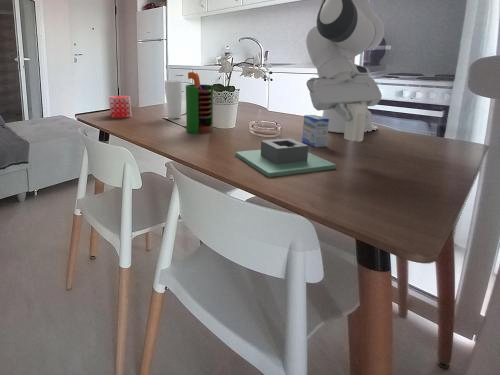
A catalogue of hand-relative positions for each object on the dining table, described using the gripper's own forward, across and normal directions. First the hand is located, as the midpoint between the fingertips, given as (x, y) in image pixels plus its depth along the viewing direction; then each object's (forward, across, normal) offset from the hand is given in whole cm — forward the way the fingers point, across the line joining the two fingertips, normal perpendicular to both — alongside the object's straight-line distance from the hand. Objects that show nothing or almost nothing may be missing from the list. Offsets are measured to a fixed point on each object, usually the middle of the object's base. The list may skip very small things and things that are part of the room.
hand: (357, 119), depth 96 cm
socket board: (+3, -18, +12) cm, 22 cm away
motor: (-28, -27, +44) cm, 59 cm away
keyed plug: (+3, 0, +4) cm, 5 cm away
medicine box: (-6, +1, +23) cm, 24 cm away
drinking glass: (-48, -29, +64) cm, 85 cm away
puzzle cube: (-57, -50, +72) cm, 104 cm away
